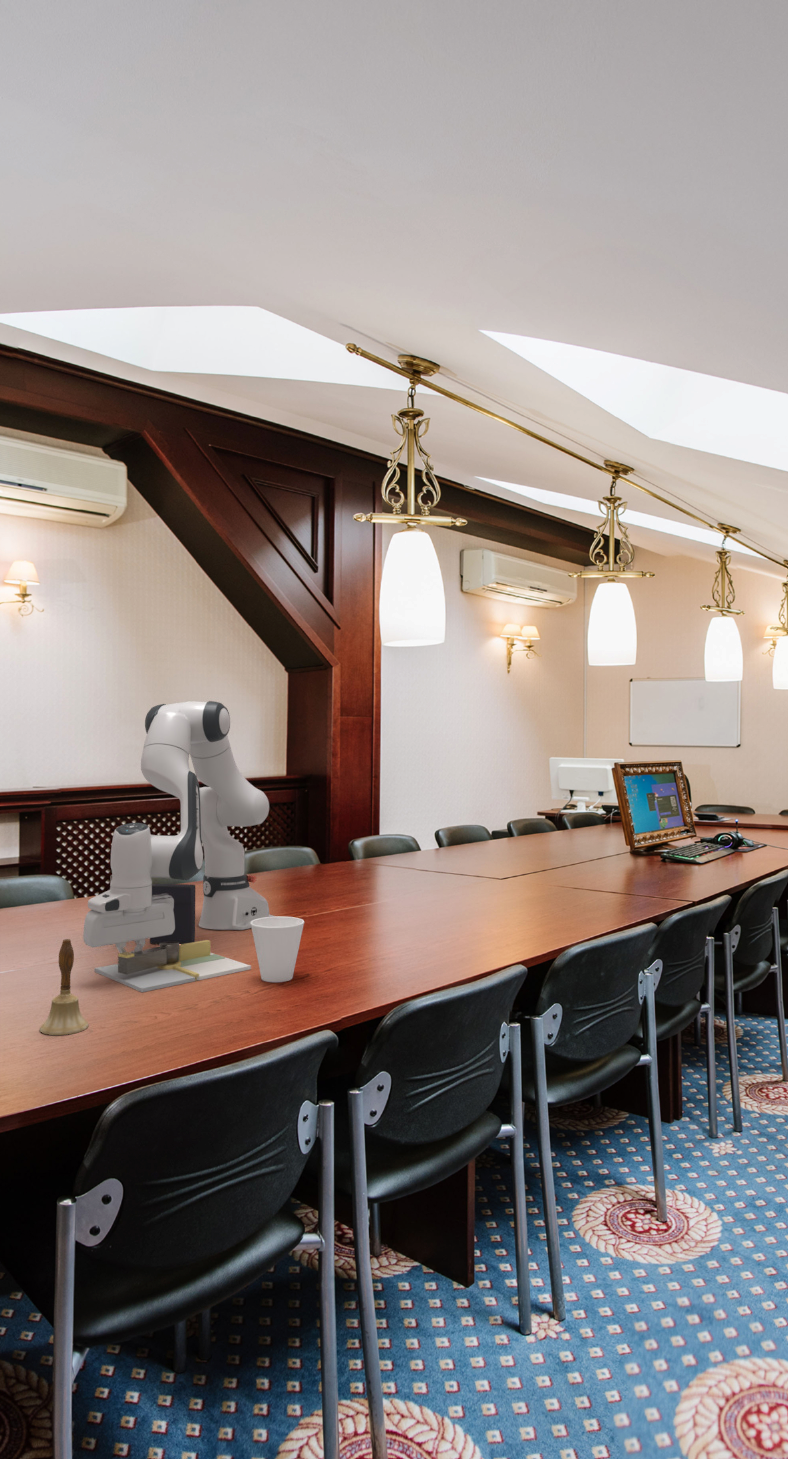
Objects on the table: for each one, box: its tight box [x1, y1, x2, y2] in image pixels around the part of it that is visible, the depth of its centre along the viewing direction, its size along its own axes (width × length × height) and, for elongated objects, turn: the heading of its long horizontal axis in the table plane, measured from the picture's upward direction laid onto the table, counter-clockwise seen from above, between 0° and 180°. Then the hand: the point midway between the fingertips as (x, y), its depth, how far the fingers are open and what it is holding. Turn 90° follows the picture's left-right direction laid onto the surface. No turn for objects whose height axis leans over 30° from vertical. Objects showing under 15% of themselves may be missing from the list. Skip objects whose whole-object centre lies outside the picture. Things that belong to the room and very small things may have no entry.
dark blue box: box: [149, 883, 196, 945], centre depth 223 cm, size 11×4×15 cm, turn 84°
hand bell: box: [39, 938, 90, 1036], centre depth 157 cm, size 8×8×16 cm
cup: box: [250, 915, 305, 983], centre depth 191 cm, size 12×12×12 cm
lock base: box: [94, 939, 252, 993], centre depth 196 cm, size 27×22×4 cm
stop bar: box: [117, 941, 179, 975], centre depth 192 cm, size 15×4×4 cm, turn 146°
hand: (130, 960), depth 191 cm, fingers closed
